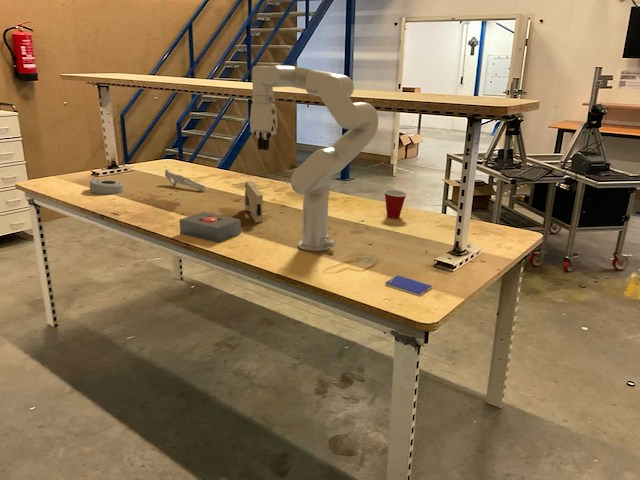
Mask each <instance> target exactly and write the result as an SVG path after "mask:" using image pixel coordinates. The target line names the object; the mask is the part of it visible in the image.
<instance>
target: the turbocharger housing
mask: <svg viewBox="0 0 640 480" xmlns="http://www.w3.org/2000/svg"><path fill="white" fill-rule="evenodd" d="M89 191H90V192H91V193H93V194H96V195H113V194H120V193H122V192H123V191H124V183H123V182H121V181H117V180H109V179H105V180H104V179H103V180H99V178H97V177H93V178H92V179H91V180H90V182H89Z"/></svg>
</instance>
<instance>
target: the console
mask: <svg viewBox="0 0 640 480" xmlns="http://www.w3.org/2000/svg"><path fill="white" fill-rule="evenodd" d="M206 217H215V218H217V219H218V221H215V222H212V223H208V222H204V221H203V220H202V219H203V218H206ZM241 226H242V225H241V219H239V218H234V217H229V216H224V215H220V214H216V213H215V214H214V213H210V212H205V211H202V212H198V213H196V214H192V215H190V216H186V217H183V218H180V219H179V232H180V235H183V236H188V237H193V238H196V239H200V240H201V239H202V240H204V241H205V240H206V241H209V242H213V243H221V242H223V241H227V240H228V239H232V238H233V237H235V236H239V235H240V234H242V232H241Z"/></svg>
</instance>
